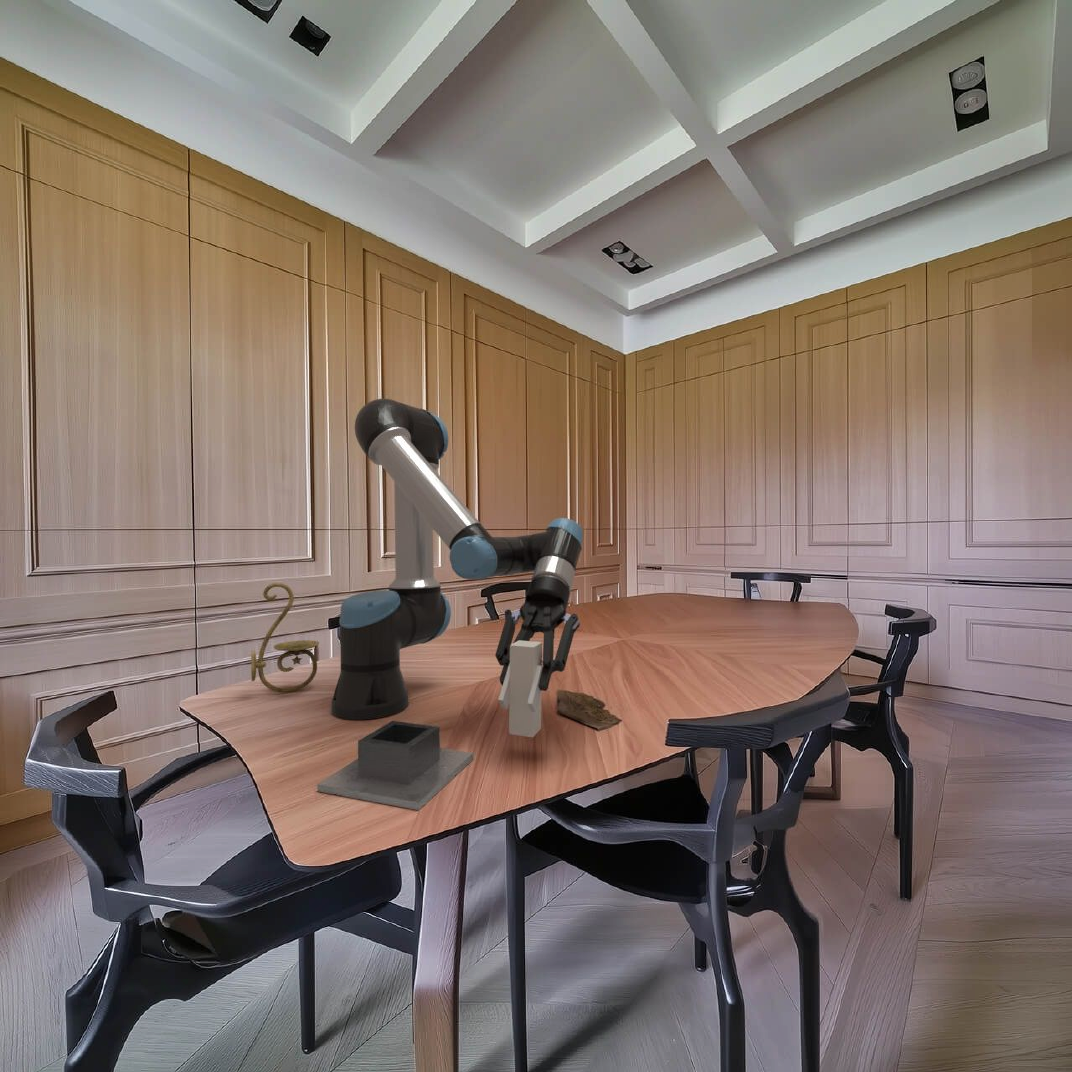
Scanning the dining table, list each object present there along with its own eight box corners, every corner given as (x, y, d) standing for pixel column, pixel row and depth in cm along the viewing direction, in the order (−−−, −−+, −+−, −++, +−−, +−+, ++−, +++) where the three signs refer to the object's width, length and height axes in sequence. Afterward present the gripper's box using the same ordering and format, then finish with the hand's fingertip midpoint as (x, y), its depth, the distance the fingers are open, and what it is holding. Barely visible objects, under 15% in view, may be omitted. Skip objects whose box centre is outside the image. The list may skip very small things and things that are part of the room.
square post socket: (317, 791, 71) (317, 747, 71) (386, 746, 86) (386, 710, 86) (418, 810, 66) (418, 763, 66) (473, 759, 81) (473, 721, 81)
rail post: (509, 733, 81) (509, 645, 81) (518, 725, 85) (518, 640, 85) (533, 737, 80) (533, 647, 80) (541, 728, 84) (542, 642, 84)
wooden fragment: (629, 729, 94) (629, 724, 94) (571, 735, 92) (571, 729, 92) (587, 689, 119) (587, 685, 119) (540, 693, 117) (540, 688, 117)
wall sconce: (251, 703, 110) (250, 585, 110) (251, 691, 118) (250, 582, 118) (321, 693, 117) (321, 582, 117) (317, 682, 125) (316, 579, 125)
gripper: (599, 602, 94) (575, 724, 79) (512, 597, 100) (473, 710, 84) (593, 575, 89) (566, 700, 74) (501, 572, 95) (459, 687, 79)
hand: (517, 705), depth 79 cm, fingers closed on rail post, 4 cm apart
